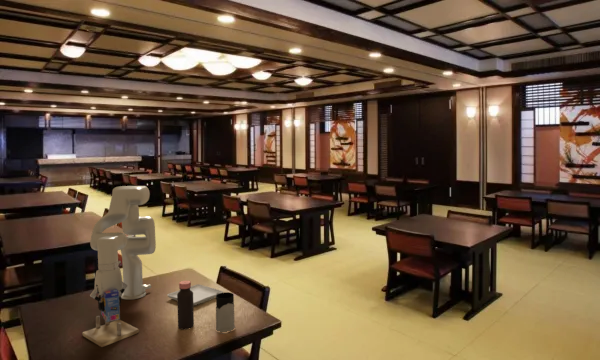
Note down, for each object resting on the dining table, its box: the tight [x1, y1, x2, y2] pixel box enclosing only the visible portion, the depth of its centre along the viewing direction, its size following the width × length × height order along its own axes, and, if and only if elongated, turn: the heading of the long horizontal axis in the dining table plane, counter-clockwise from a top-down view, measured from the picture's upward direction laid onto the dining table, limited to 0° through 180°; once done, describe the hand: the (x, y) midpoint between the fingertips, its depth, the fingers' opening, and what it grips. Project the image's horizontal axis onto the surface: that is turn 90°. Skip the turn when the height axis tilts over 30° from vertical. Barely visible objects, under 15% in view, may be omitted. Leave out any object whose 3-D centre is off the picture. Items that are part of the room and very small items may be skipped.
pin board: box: [82, 315, 140, 348], centre depth 172 cm, size 16×16×6 cm
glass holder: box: [215, 291, 236, 332], centre depth 179 cm, size 9×14×15 cm, turn 32°
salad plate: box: [166, 283, 224, 306], centre depth 213 cm, size 21×21×3 cm
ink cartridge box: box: [100, 289, 121, 323], centre depth 171 cm, size 10×6×14 cm, turn 38°
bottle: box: [176, 280, 195, 330], centre depth 178 cm, size 7×7×20 cm
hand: (110, 307), depth 171 cm, fingers closed on ink cartridge box, 6 cm apart
